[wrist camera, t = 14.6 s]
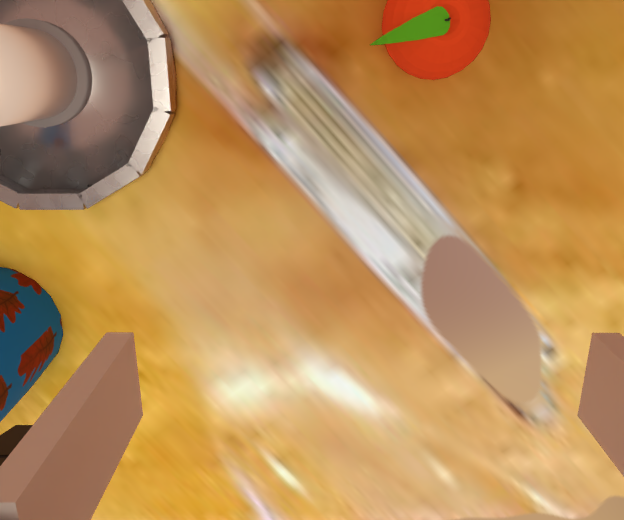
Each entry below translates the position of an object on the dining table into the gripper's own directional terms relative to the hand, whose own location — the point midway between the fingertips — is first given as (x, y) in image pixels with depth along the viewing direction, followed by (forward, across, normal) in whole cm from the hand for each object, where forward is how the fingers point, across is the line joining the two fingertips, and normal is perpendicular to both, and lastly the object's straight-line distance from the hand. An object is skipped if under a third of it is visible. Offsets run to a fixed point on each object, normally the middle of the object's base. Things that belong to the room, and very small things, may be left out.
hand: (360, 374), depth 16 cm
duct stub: (+28, -21, +8) cm, 36 cm away
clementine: (+29, +6, +11) cm, 31 cm away
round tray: (+29, -21, +8) cm, 36 cm away
